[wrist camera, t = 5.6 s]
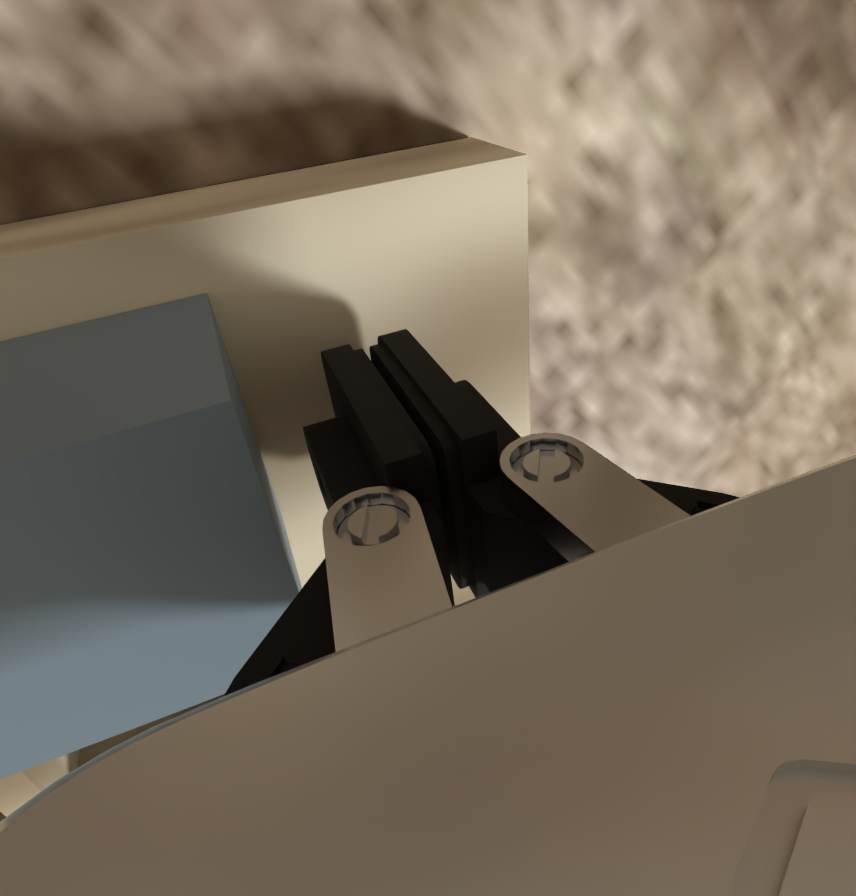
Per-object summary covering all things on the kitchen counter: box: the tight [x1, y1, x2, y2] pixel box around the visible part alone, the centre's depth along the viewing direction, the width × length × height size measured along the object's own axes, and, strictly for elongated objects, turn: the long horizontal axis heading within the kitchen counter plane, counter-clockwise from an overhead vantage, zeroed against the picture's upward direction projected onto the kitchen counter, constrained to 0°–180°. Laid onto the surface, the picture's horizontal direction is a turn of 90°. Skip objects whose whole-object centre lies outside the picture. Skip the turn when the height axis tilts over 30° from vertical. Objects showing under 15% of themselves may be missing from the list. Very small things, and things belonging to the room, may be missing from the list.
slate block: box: [0, 293, 302, 780], centre depth 10 cm, size 5×5×4 cm
